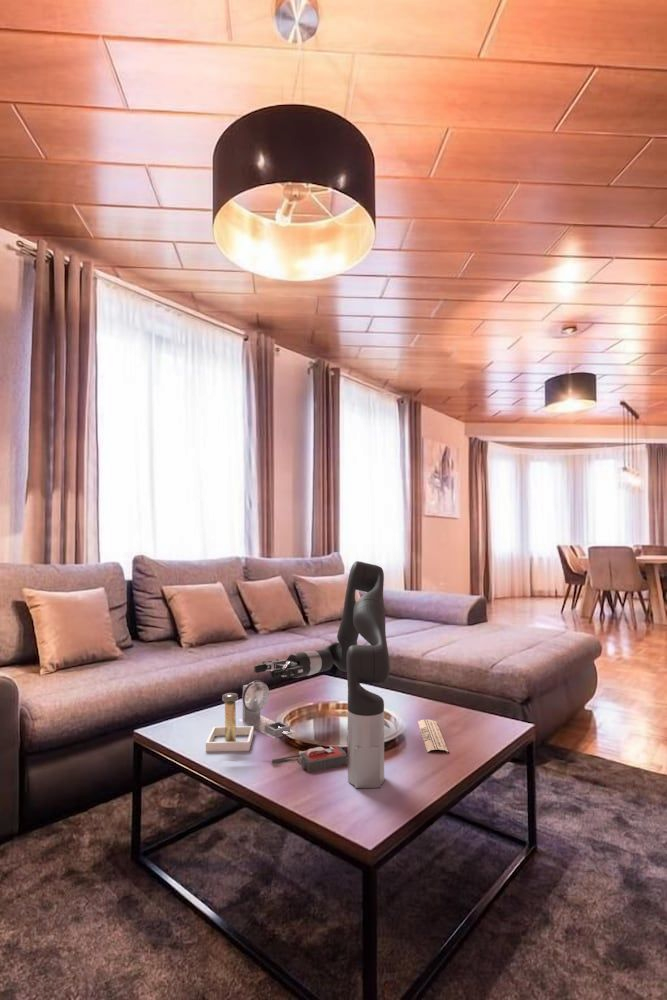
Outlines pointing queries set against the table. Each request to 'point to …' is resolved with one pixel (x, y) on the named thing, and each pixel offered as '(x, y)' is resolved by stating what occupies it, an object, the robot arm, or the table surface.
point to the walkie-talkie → (318, 758)
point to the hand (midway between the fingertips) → (262, 671)
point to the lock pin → (230, 716)
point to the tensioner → (253, 703)
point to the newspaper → (432, 735)
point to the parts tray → (230, 745)
